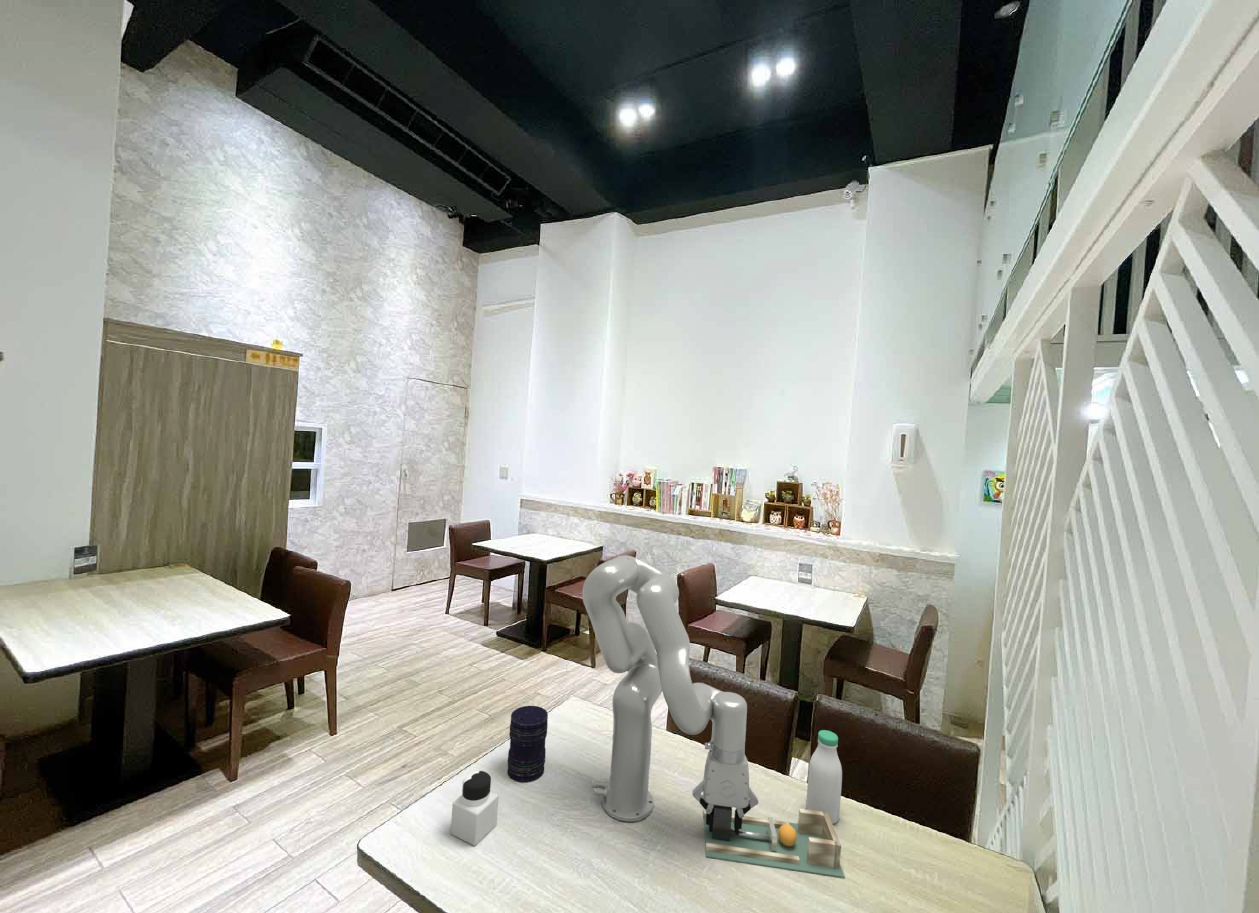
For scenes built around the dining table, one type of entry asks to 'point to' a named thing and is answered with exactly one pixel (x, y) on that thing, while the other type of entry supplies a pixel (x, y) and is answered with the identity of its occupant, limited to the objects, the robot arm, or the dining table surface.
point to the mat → (762, 845)
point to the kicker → (723, 830)
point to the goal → (820, 849)
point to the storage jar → (527, 744)
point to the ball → (787, 835)
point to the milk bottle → (825, 777)
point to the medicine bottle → (474, 808)
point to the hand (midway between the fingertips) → (723, 828)
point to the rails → (751, 852)
